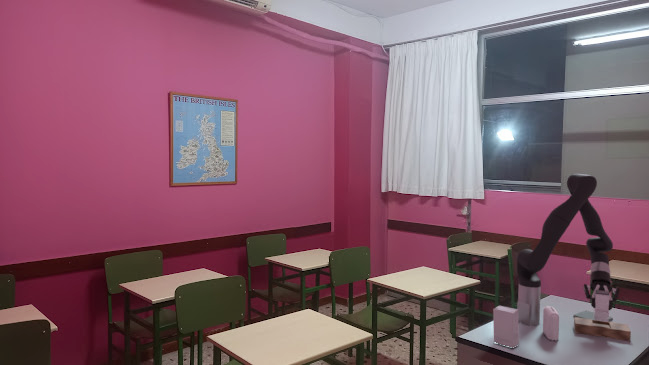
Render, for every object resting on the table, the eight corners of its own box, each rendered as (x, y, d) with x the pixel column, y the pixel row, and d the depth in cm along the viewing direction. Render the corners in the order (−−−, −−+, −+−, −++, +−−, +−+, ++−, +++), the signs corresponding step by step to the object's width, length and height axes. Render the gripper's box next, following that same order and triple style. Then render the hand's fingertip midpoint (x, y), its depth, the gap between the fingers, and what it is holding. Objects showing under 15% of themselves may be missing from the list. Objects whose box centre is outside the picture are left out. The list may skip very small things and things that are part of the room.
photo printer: (541, 331, 197) (542, 303, 196) (552, 332, 196) (553, 304, 195) (548, 340, 187) (549, 311, 186) (559, 341, 186) (560, 312, 185)
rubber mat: (600, 324, 205) (600, 322, 205) (573, 316, 215) (573, 314, 215) (612, 319, 212) (612, 317, 212) (586, 312, 222) (586, 310, 222)
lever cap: (606, 317, 197) (608, 289, 196) (608, 322, 191) (610, 293, 191) (593, 315, 199) (594, 288, 198) (594, 320, 194) (596, 291, 193)
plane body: (626, 333, 195) (627, 324, 195) (630, 341, 187) (630, 331, 187) (574, 325, 204) (574, 316, 204) (575, 332, 196) (575, 323, 196)
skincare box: (519, 345, 181) (520, 309, 181) (512, 350, 177) (513, 313, 176) (498, 339, 187) (499, 304, 187) (492, 343, 183) (493, 307, 182)
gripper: (582, 267, 204) (583, 301, 194) (620, 272, 198) (623, 307, 188) (581, 276, 209) (581, 309, 199) (618, 281, 203) (620, 315, 193)
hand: (602, 308), depth 193 cm, fingers closed on lever cap, 5 cm apart
